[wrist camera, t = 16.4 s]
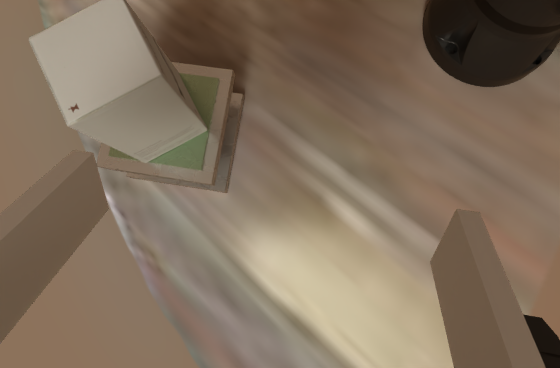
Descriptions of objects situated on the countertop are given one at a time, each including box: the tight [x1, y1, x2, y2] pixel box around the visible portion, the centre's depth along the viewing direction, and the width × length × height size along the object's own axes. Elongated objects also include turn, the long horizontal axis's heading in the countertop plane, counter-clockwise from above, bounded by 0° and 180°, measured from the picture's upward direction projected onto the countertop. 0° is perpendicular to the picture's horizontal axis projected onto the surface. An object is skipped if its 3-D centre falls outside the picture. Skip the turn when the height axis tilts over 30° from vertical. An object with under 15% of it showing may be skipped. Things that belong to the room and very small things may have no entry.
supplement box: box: [29, 0, 208, 163], centre depth 31 cm, size 7×7×13 cm
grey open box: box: [97, 62, 244, 193], centre depth 41 cm, size 12×12×8 cm
